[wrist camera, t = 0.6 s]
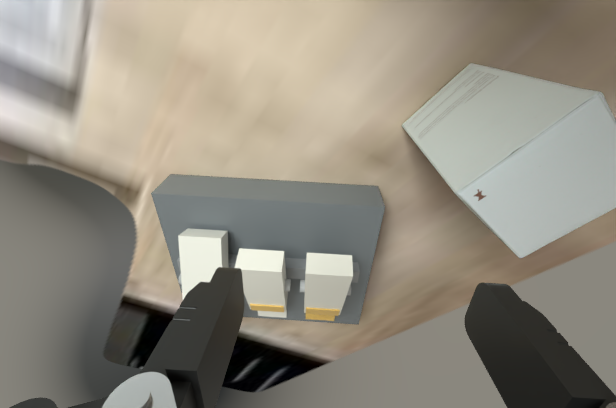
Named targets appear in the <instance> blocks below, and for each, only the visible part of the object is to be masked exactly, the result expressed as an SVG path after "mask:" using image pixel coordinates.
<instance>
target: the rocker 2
mask: <svg viewBox="0 0 616 408" xmlns="http://www.w3.org/2000/svg"><path fill="white" fill-rule="evenodd" d="M352 278H353V263H352V255H339V254H323V253H307V257H306V272H305V280H300V292H305V297H304V313H306V314H317V315H332V316H338V315H340V313H341V310H342V307H343V305H344V302H345V299H346V296H347V295H351V281H352Z"/></svg>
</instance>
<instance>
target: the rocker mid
mask: <svg viewBox="0 0 616 408" xmlns="http://www.w3.org/2000/svg"><path fill="white" fill-rule="evenodd" d="M235 268H240V269H241V271H242V279H243V291H244V295H245V297H246V300H247V302H248V305H249V307H250V309H251V310H256V311H271V312H286V307H287V298H288V291H290V286H291V279H287V278H286V266H285V254H284V251H274V250H258V249H242V248H239V252H238V256H237V260H236V264H235Z"/></svg>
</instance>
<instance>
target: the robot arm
mask: <svg viewBox="0 0 616 408" xmlns="http://www.w3.org/2000/svg"><path fill="white" fill-rule="evenodd" d="M243 314H244V291H243V279H242V271H241V269H240V268H226V267H218V268H217V269H216V271H215V273H214V275H213V277H212V279H211V281H210V282H200V283H198V284H197V285H196V286H195V287H194V288H193V289H191V290H190V291H189V292H188V293H187V295H186V296H185V298H184V300H183V301H182V303H181V305H180V308H179V309H178V310H177V312H176V313H175V315H174V317H173V320H172V321H171V322H170V323H169V325H168V327H167V329H166V330H165V332H164V334H163V335H162V337H161V339H160V340H159V342H158V344H157V346H156V347H155V349H154V351H153V352H152V354H151V356H150V357H149V359H148V361H147V363H146V364H145V366H144V368H143V369H142V371H141V372H140V373H139V374H138V375H136V376H133V377H132V378H130V379H128V380H126V381H125V382H124V383H122V384H121V385H120V386H118V387H117V388H116V389H115V390H114V391H113V392H112V393H111V394H110V396H108V397H105V398H102V399H99V400H96V401H92V402H88V403H84V404H80V405H77V406H72V407H68V408H215V406H216V403H217V399H218V396H219V393H220V390H221V386H222V383H223V380H224V377H225V374H226V370H227V367H228V364H229V361H230V358H231V354H232V351H233V348H234V345H235V341H236V338H237V335H238V332H239V329H240V325H241V322H242V318H243ZM465 328H466V331H467V334H468V336H469V338H470V340H471V342H472V343H473V345H474V347H475V349H476V350H477V353H478V354H479V356H480V358H481V360H482V362H483V364H484V365H485V367H486V369H487V371H488V373H489V375H490V377H491V378H492V380H493V382H494V384H495V386H496V388H497V389H498V391H499V393H500V395H501V397H502V398H503V400H504V402H505V404H506V406H507V408H616V396H615V395H614V394H613V393H612V391H611V390H610V389H609V388H608V387H607V386H606V385H605V383H604V382H603V381H602V380H601V379H600V378H599V377H598V376H597V374H596V373H595V372H594V371H593V370H592V369H591V368H590V367H589V365H587V363H585V361H584V360H583V359H582V358H581V357H580V355H579V354H578V353H577V352H576V351H575V350H574V349H573V348H572V347H571V346H569V345H568V342H567V341H566V340H565V339H564V337H563V336H562V335H561V334H560V333H557V330H556V328H555V327H554V326H553V325H552V324H551V323H550V322H549V321H548V319H547V318H546V317H545V316H544V315H543V314H542V313H540V312H539V311H538V310H536V309H535V308H533V307H532V306H531V305H529V304H528V303H527V302H525V301H522V300H521V299H520V298H519V297H518V295H517V294H516V293H515V292H514V291H513V290H512V288H511V287H510V286H508V285H506V284H495V283H480V284H478V286H477V287H476V290H475V292H474V295H473V297H472V300H471V302H470V305H469V307H468V310H467V312H466V315H465ZM10 408H57V406H56V404H55V403H54V402H53V401H52V400H50V399H47V398H34V399H29V400H26V401H23V402H20V403H18V404H16V405H14V406H12V407H10Z"/></svg>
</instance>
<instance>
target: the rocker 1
mask: <svg viewBox="0 0 616 408" xmlns="http://www.w3.org/2000/svg"><path fill="white" fill-rule="evenodd" d="M178 241H179V255H180V269H181V273H180V275H179V280H178V282H179V284H181V285H182V297H183V300H184V298H185V296H186V295H187V293H188V292H189V291H190V290H191V289H193V288H194V287H195V286H196V285H197V284H198V283H200V282H210V281H211V279H212V277H213V275H214V273H215V271H216V269H217V268H218V267H226V268H229V265H228V231H223V230H206V229H190V228H188V229H186V230H185V231H184V232H182V233H181V234H180V235H178Z"/></svg>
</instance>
